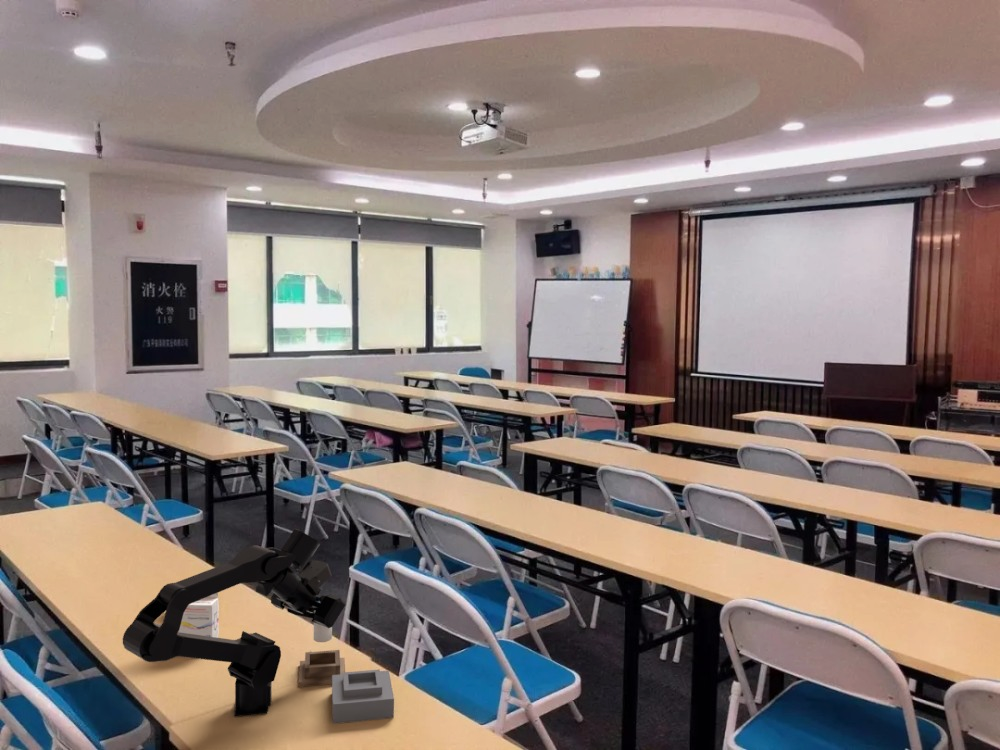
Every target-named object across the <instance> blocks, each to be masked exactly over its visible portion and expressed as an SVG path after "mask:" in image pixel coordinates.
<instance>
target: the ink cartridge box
mask: <svg viewBox="0 0 1000 750" xmlns="http://www.w3.org/2000/svg"><path fill="white" fill-rule="evenodd" d="M219 600H220V599H219V592H218V593H216V594H213V595H211V596H208V597H206V598H203V599H201V600H199V601H196V602H194V603H191V604H189V605H188V607H187V608H186V610H185V611H184V614H183V618H182V621H181V625H180V629H179V631H178V632H180V633H187V634H195V635H202V636H209V637H216V638H219V623H220V622H219V616H220V615H219V613H220V611H219V609H220V608H219V604H220V603H219Z"/></svg>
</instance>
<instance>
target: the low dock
mask: <svg viewBox="0 0 1000 750" xmlns="http://www.w3.org/2000/svg"><path fill="white" fill-rule="evenodd" d="M340 652H341V651H340V649H334V650H333V649H332V650H320V651H319V650H318V651H307V652H305V654H304V656H305V657H304V660H300V661H299V673H298V687H299V686H302V687H308V686H309V687H310V686H312V685H313V686H323V685H324V684H325V685H332V675H340V674H343V672H346V658H345V657H341V655H340ZM321 684H322V685H321ZM325 685H324V686H325ZM313 686H312V687H313Z"/></svg>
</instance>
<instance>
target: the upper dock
mask: <svg viewBox="0 0 1000 750" xmlns="http://www.w3.org/2000/svg"><path fill="white" fill-rule="evenodd" d="M331 686H332V687H331V706H332V707H331V708H332V724H334V725H335V724H342V723H352V722H354V723H355V722H364V721H373V720H375V721H376V720H384V719H393V718H394V717H395V714H394V713H395V697H394V691H393V687H392V680H391V673H390V670H380V669H370V670H369V669H368V670H357V671H345V672H343V674H340V675H332V684H331Z"/></svg>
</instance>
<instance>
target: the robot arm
mask: <svg viewBox="0 0 1000 750" xmlns="http://www.w3.org/2000/svg"><path fill="white" fill-rule="evenodd" d="M292 530H293V531H292V532H291V533H290V536H289V537H288V539H287V540H286V542H285V543H284V544H283V546H282V547H281V548H280V549H279V548H275V547H273V546H272V547H263V546H259V545H257V544H255V545H250V546H249V547H247V548H245V549H243V550H242V551H240V552H238V553H237V554H236V555H235V556H234V558H233V559H231V560H229V561H228V562H226V563H224V564H221V565H218V566H216V567H213V568H210V569H207V570H205V571H203V572H202V571H201V572H199V573H197V574H194V575H193V576H190V577H187V578H184V579H181V580H179V581H176V582H170V583H167V584H165V585H163V586H162V588H161V589H160V591H158V593H157V595H156V597H155V598H154V599H152V600H151V601H150V602H149V603H148V604H146V605H145V606H144V607H142V609H141V610H140V611H139V612H138V614H137V615H136V616H135V618H134V620H133V621H132V623H131V624H130V625H129V626H128V627H127V628H126V629H125V632H124V633H123V636H122V645H123V648H124V649H125V650H127V652H130V653H131V654H133V655H135V656H137V657H138V658H139V659H142V660H143V661H145V662H148V663H157V662H168V661H170V660H172V659H175V658H179V657H180V658H189V659H198V660H207V661H214V662H215V661H216V662H224V663H230V664H229V665H228V667H227V671H228V673H229V676H230V677H233V678H235V683H234V687H235V688H234V695H235V696H234V697H235V698H234V701H235V702H234V706H235V707H234V712H233V717H243V716H244V717H246V716H256V715H265V714H268V713H269V707H271V705H272V693H273V692H272V689H273V688H272V682H275V679H276V675H277V673H278V672H277V671H278V669H279V664H280V661H281V657H282V651H281V647H280V646H279V645H276V640H273V639H271V638H268V637H267V636H264V635H262V634H260V633H258V632H253V633H249V632H247V631H243V630H242V632H241V635H240V637H239V638H237V639H230V638H222V637H218V638H216V637H209V636H202V635H195V634H187V633H180V632H178V631H179V629H180V625H181V621H182V618H183V614H184V611H185V610H186V608H187V607H188V605H189V604H191V603H194V602H196V601H199V600H201V599H203V598H206V597H208V596H211V595H213V594H216V593H218V594H219V593H221V592H224V591H225V590H228V589H231V588H232V587H235V586H237V585H240V584H245V583H246V584H247V583H249V584H250V583H256V586H255V592H256V593H258V594H260V595H262V596H264V597H268V596H269V595H270V594H271V592H272V593H273V594H272V595H271V597H270V604H272V605H273V606H274V607H275V608H277V609H280V610H284V609H285V607H286V608H287V609H286V611H287V613H289V614H292V615H295V616H300V617H304V618H309V619H311V623H313V624H314V623H317V624H320V625H322V626H325V627H327V628H331V627H332V628H333V626H334V625H335V623H336V622H337V620H338V618H339V616H340V615H341V612H342V611H343V610H344V608H345V606H346V602H345V600H344V599H342V598H341V597H340V596H336V595H335V594H330V593H329V594H326V595H320V593H321V592H322V589H321V588H320V587H321V586H323V585H324V584H325V583H326V582H327V581H328V580H330V579H331V578H332V576H333V575H332V571H331V570H330V567H329V564H328V563H326V562H323V561H321V560H317V559H316V560H313V559H312V557H313V556H314V554H315V553H316V551H317V549H319V546H320V545H321V544H320V542H319V541H318V540H317V539H316V538H314V537H312V536H310V535H309V534H307V533H305V532H303V531H302V530H300V529H298V528H294V529H292ZM292 568H293V569H295V570H297V572H298V574H297V573H296V572H295V571H294V570H293V569H292ZM319 595H320V596H319ZM314 611H316V612H315V613H314ZM163 614H164V618H163V621H162V623H161V624H159V623H155V621H156V620H157V619H158V618H159V617H160V616H161V615H163Z"/></svg>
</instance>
